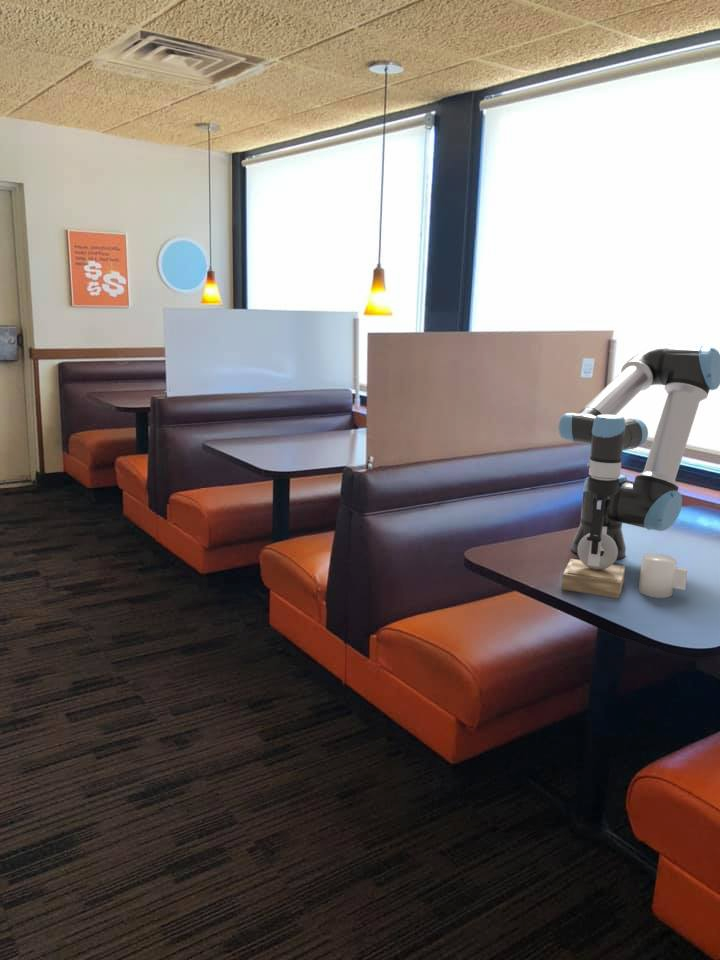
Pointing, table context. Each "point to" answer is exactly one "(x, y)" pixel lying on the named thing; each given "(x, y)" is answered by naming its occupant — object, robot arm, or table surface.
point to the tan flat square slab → (593, 579)
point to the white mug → (660, 576)
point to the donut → (605, 559)
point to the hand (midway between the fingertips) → (596, 557)
